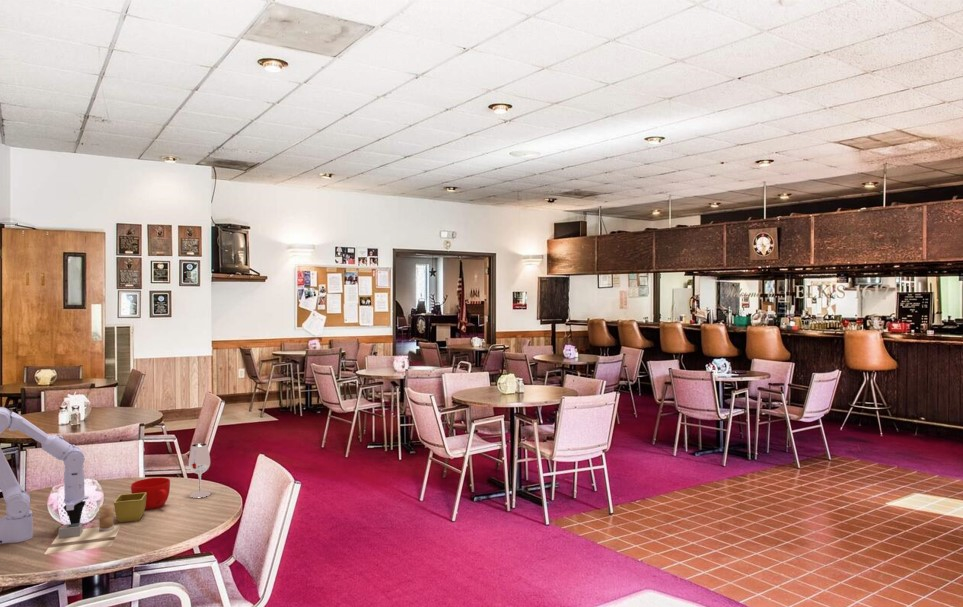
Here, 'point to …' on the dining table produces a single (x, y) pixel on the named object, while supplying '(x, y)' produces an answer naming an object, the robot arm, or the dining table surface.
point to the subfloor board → (84, 540)
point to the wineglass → (199, 464)
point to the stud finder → (70, 530)
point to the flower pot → (130, 506)
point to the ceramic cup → (153, 491)
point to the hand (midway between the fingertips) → (75, 525)
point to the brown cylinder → (106, 518)
